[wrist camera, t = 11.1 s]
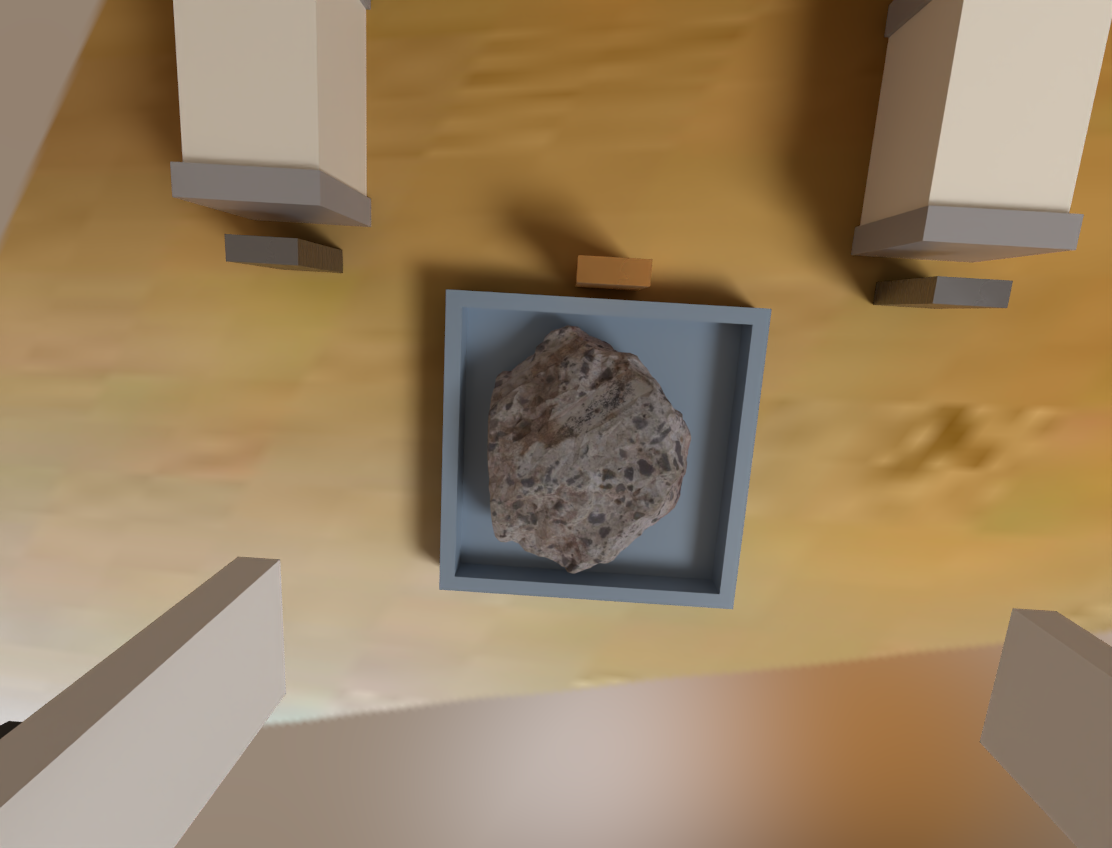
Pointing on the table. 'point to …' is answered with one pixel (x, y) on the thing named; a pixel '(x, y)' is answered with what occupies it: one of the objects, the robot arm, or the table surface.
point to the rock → (581, 451)
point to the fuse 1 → (273, 109)
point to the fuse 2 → (981, 128)
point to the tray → (690, 386)
